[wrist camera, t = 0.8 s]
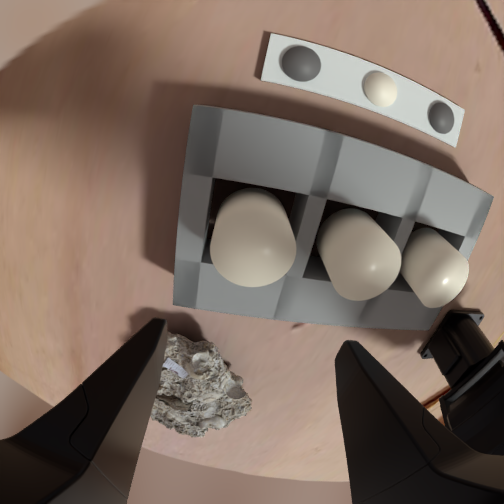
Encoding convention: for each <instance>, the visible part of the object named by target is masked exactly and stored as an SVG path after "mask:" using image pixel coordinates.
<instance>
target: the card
mask: <svg viewBox="0 0 504 504" xmlns="http://www.w3.org/2000/svg"><path fill="white" fill-rule="evenodd" d="M261 81H266V82H271V83H276V84H280V85H285V86H289V87H293V88H298V89H302V90H305V91H309V92H313V93H317V94H320V95H324V96H327V97H331V98H334V99H337V100H341V101H344V102H347V103H350V104H353V105H356V106H359V107H362V108H365V109H368V110H370V111H373V112H376V113H379V114H381V115H384V116H386V117H389V118H391V119H394V120H396V121H399V122H401V123H404V124H406V125H408V126H411V127H413V128H415V129H417V130H420V131H422V132H424V133H426V134H428V135H430V136H432V137H435V138H437V139H439V140H441V141H443V142H445V143H447V144H449V145H451V146H452V147H455V148H456V144H457V141H458V137H459V133H460V129H461V124H462V120H463V115H464V111H465V110H464V109H462V108H461V107H459V106H457V105H456V104H454V103H452V102H451V101H449V100H447V99H446V98H444V97H442V96H440V95H438V94H437V93H435V92H433V91H431V90H429V89H427V88H425V87H424V86H422V85H420V84H418V83H416V82H414V81H412V80H410V79H407V78H405V77H403V76H401V75H399V74H397V73H394V72H392V71H390V70H388V69H385V68H383V67H381V66H378V65H376V64H373V63H371V62H368V61H365V60H363V59H360V58H357V57H355V56H352V55H349V54H346V53H343V52H340V51H337V50H334V49H331V48H328V47H324V46H321V45H317V44H314V43H310V42H307V41H303V40H299V39H295V38H291V37H286V36H282V35H277V34H272V33H271V35H270V40H269V44H268V48H267V53H266V57H265V62H264V67H263V71H262V76H261Z"/></svg>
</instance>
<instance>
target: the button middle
mask: <svg viewBox="0 0 504 504" xmlns="http://www.w3.org/2000/svg"><path fill="white" fill-rule="evenodd" d="M317 249H318V252H319V254H320V256H321V259H322V261H323V263H324V266H325V268H326V270H327V272H328V275H329V277H330V279H331V282H332V284H333V286H334V288H335V290H336V291H337V293H338V294H340V295H341V296H342V297H344V298H346V299H349V300H354V301H363V300H368V299H371V298H374V297H376V296H378V295H380V294H381V293H383V292H384V291H385V290H387V289H388V288H389V287H390V286H391V284H392V283H393V282H394V281H395V279H396V277H397V276H398V273H399V271H400V267H401V253H400V250H399V248H398V246H397V245H396V244H395V242H394V241H393V240H392V239H391V238H390V237H389V236H388V235H387V234H386V233H385V231H384V230H383V229H382V228H381V227H380V226H379V225H378V224H377V223H376V222H375V221H374V220H373V219H372V218H371V217H370V216H369V215H368V214H367V213H366V212H364V211H362V210H359V209H354V208H348V209H343V210H340V211H337V212H335V213H333V214H332V215H330V216H329V217H328V218H327V219H326V220H325V221H324V222H323V224H322V225H321V227H320V229H319V231H318V234H317Z"/></svg>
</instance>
